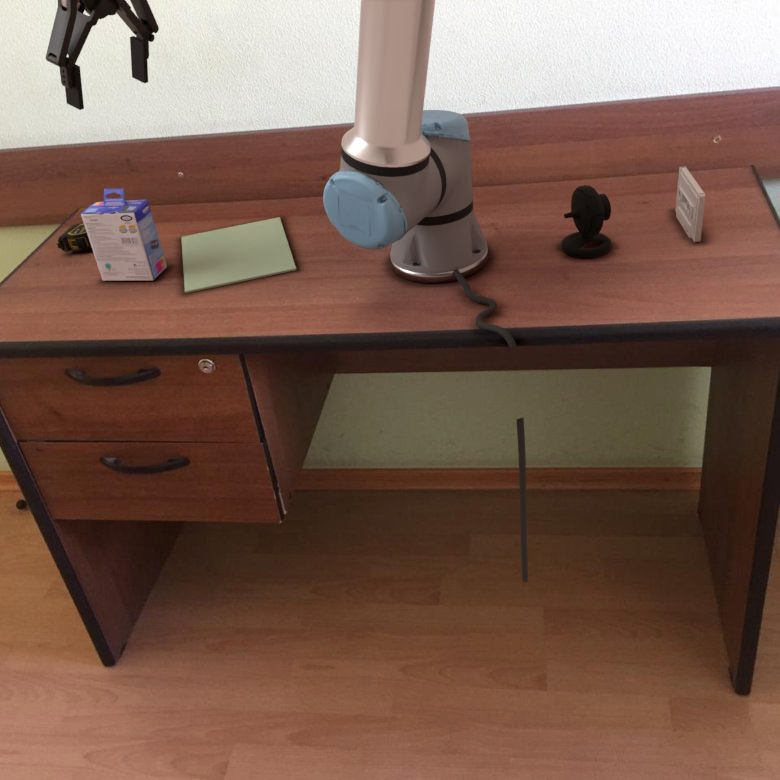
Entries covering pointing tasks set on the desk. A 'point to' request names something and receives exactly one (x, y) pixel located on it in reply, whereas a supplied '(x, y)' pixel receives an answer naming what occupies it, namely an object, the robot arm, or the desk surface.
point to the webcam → (587, 223)
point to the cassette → (690, 204)
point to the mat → (235, 255)
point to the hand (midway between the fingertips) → (108, 92)
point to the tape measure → (74, 239)
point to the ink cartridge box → (124, 239)
